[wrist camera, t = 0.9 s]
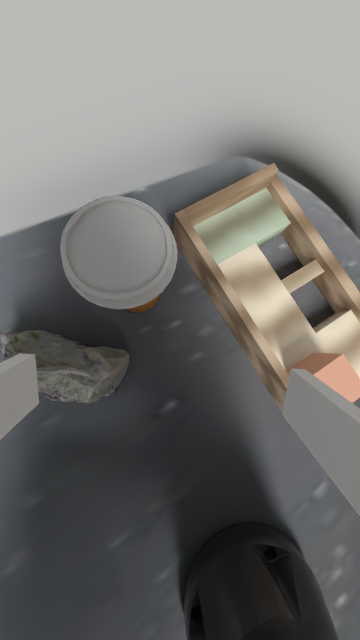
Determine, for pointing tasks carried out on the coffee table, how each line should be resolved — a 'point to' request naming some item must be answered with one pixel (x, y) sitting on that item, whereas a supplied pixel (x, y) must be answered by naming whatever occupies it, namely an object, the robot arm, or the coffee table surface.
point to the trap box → (268, 276)
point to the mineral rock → (68, 365)
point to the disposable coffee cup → (118, 253)
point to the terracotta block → (333, 373)
